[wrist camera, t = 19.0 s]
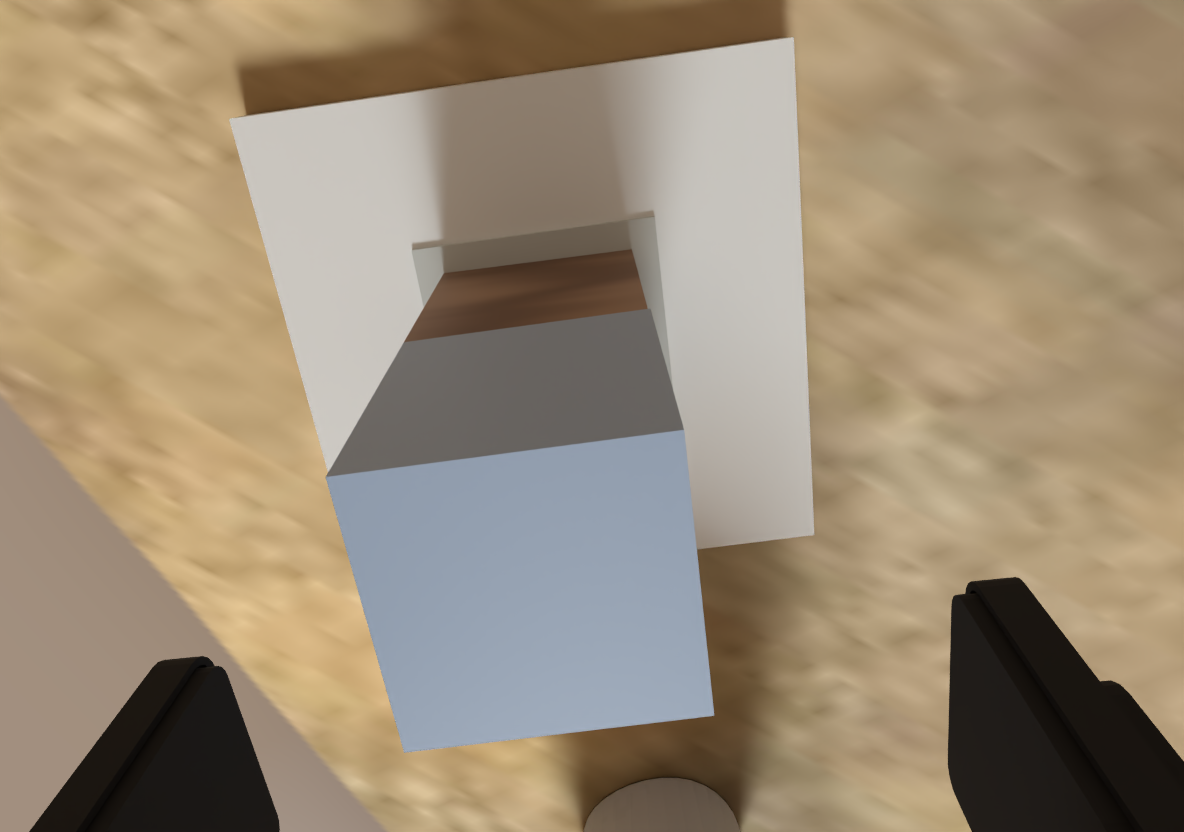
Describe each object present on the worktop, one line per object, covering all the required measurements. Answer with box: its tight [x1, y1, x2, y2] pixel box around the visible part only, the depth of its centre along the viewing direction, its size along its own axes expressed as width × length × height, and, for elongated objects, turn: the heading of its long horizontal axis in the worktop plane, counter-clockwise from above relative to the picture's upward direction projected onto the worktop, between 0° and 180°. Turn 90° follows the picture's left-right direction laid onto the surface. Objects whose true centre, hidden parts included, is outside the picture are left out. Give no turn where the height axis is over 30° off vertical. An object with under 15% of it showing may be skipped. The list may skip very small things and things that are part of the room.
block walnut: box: [404, 249, 648, 342], centre depth 21 cm, size 5×5×6 cm
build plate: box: [229, 37, 814, 549], centre depth 25 cm, size 14×14×1 cm
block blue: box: [326, 309, 714, 753], centre depth 16 cm, size 5×5×6 cm
